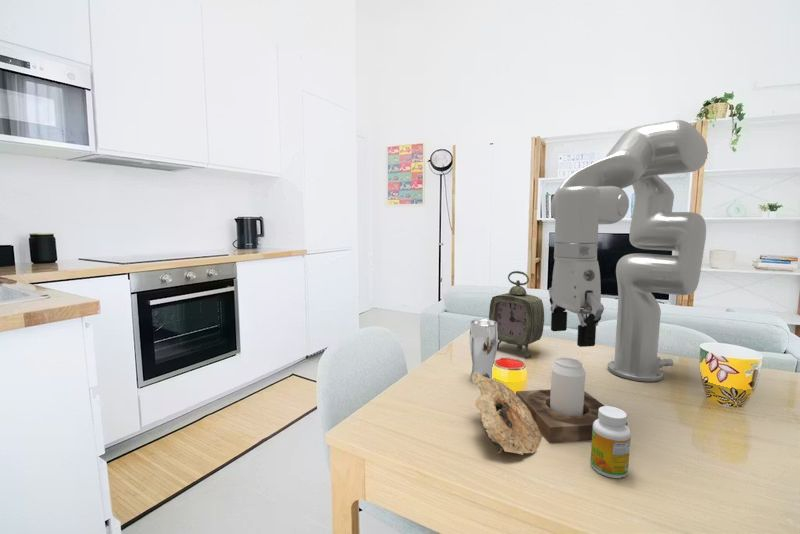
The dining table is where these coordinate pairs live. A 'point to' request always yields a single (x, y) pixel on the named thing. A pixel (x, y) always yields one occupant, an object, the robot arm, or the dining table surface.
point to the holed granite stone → (506, 417)
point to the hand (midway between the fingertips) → (571, 337)
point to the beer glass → (483, 346)
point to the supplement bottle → (610, 443)
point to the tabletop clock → (518, 316)
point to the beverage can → (567, 387)
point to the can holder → (560, 417)
